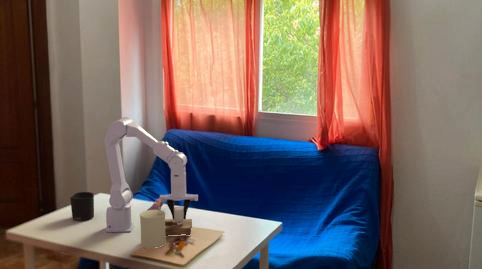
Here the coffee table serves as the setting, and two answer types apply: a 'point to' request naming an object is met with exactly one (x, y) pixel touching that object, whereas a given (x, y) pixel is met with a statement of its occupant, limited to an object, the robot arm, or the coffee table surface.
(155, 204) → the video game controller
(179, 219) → the steel peg
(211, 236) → the coffee table surface
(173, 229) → the keyhole plate
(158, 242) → the can
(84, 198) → the pen holder
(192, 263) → the coffee table surface
